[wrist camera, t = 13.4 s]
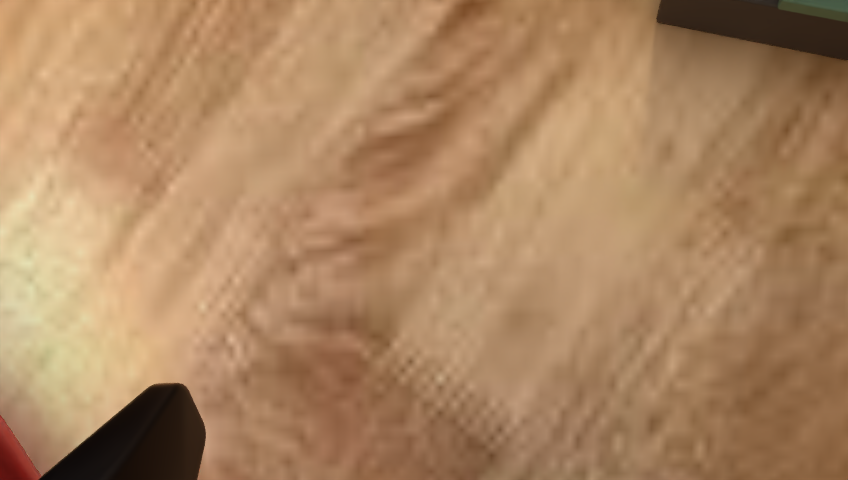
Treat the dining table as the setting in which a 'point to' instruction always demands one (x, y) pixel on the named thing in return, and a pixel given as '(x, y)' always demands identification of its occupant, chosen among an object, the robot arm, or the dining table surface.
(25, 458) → the butter dish
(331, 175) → the dining table surface
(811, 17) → the scale
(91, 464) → the robot arm
